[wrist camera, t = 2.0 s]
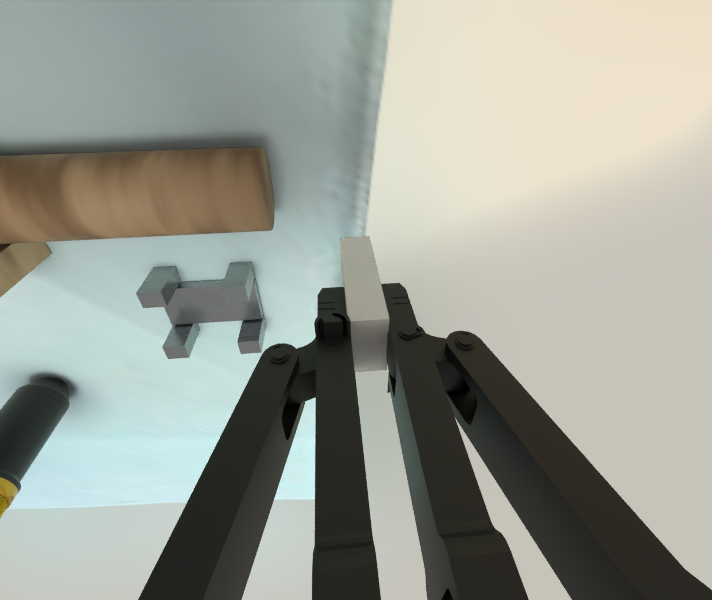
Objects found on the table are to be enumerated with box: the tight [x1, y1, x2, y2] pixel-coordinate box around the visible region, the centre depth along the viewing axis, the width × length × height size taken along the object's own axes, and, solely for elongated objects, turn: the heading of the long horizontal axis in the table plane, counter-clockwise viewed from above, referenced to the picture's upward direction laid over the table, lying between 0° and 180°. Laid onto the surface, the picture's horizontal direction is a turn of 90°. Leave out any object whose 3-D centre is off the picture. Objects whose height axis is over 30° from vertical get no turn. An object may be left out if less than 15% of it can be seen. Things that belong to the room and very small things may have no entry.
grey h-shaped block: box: [136, 262, 266, 359], centre depth 34 cm, size 8×9×4 cm
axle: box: [0, 147, 274, 244], centre depth 26 cm, size 24×6×6 cm, turn 91°
